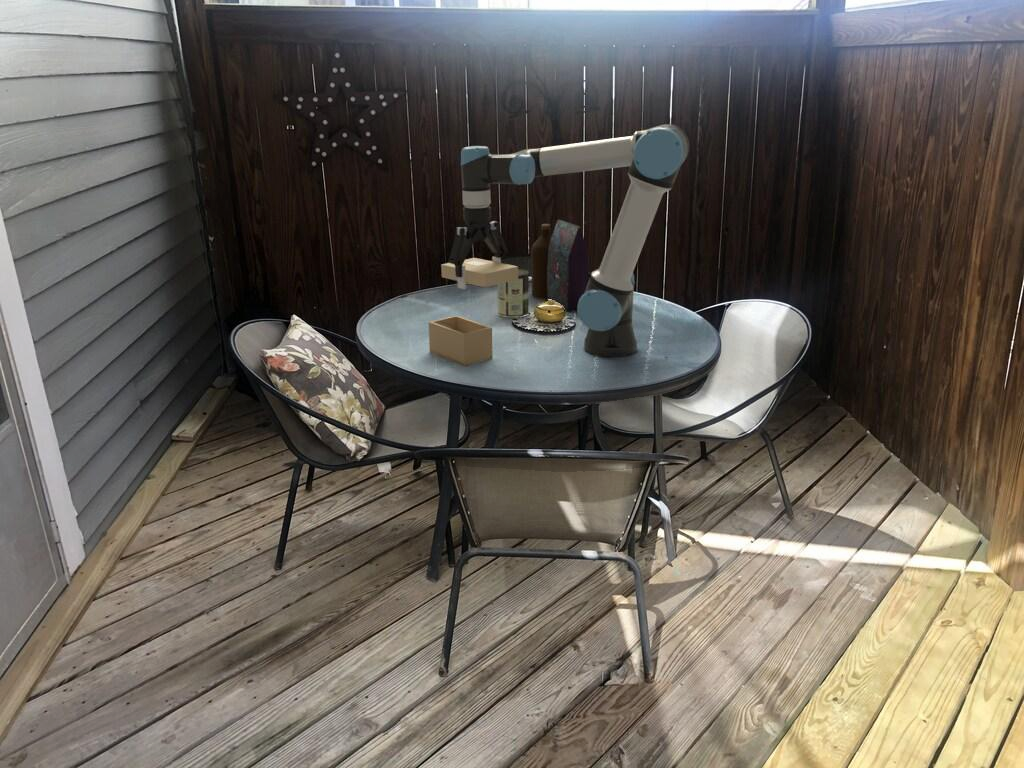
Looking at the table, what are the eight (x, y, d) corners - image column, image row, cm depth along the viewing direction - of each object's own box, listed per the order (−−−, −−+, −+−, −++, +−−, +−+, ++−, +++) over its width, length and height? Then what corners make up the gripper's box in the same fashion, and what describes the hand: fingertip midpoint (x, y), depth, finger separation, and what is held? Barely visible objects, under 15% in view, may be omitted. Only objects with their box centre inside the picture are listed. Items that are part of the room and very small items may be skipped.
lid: (518, 279, 231) (517, 266, 229) (484, 287, 223) (484, 273, 222) (474, 270, 243) (474, 257, 242) (441, 277, 235) (441, 264, 234)
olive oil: (534, 299, 294) (535, 228, 285) (527, 292, 304) (527, 222, 295) (563, 297, 296) (565, 226, 288) (555, 290, 306) (556, 221, 297)
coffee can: (517, 308, 284) (517, 267, 279) (535, 315, 276) (535, 273, 271) (491, 312, 278) (491, 271, 273) (508, 320, 270) (508, 277, 265)
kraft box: (492, 358, 235) (492, 327, 232) (464, 366, 229) (463, 334, 225) (457, 345, 246) (456, 315, 243) (429, 352, 240) (428, 321, 237)
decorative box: (566, 298, 296) (568, 218, 286) (589, 309, 282) (592, 226, 272) (545, 300, 292) (546, 220, 282) (567, 312, 278) (569, 228, 268)
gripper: (500, 199, 236) (503, 274, 244) (432, 210, 221) (437, 290, 228) (519, 201, 231) (520, 278, 239) (450, 213, 216) (454, 294, 223)
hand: (479, 284), depth 234 cm, fingers closed on lid, 12 cm apart
